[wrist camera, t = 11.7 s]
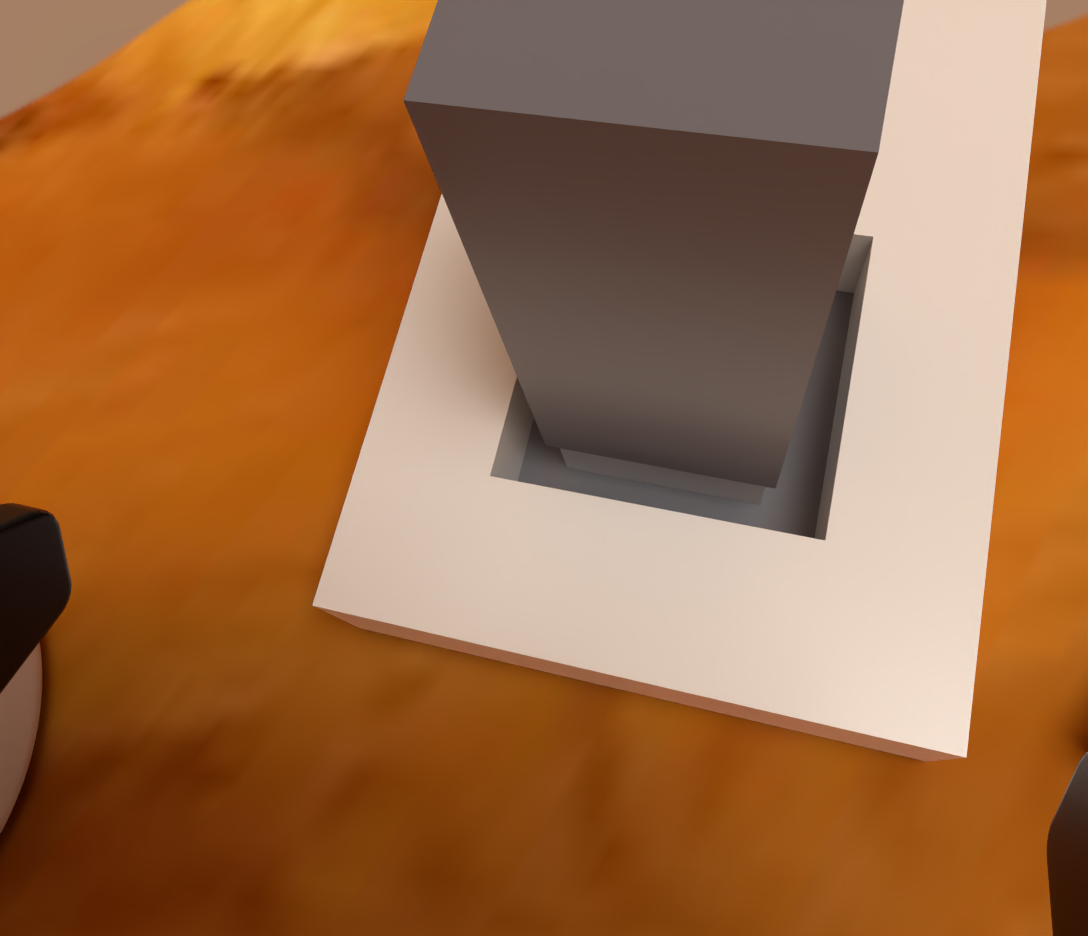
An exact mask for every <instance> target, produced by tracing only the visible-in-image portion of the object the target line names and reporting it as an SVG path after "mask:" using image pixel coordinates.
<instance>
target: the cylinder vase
mask: <svg viewBox="0 0 1088 936" xmlns="http://www.w3.org/2000/svg"><path fill="white" fill-rule="evenodd" d="M41 698H42V658H41V648H40V642H39V644H38V645H37V646H36V648H35V649H34V650H33V652H32V653H31V654H30V655H29V657H28V658H27V659H26V661H25V662H24V663H23V665H22V666H21V667H20V669H19V670H18V671H17V673H16V674H15V675H14V677H13V678H12V679H11V681H10V682H9V683H8V685H7V686H6V687H5V689H4V690H3V691H2V693H1V694H0V833H1V832H2V830H3V828H4V826H5V824H6V822H7V820H8V818H9V816H10V814H11V811H12V809H13V807H14V805H15V802H16V800H17V797H18V795H19V792H20V790H21V787H22V784H23V782H24V779H25V776H26V773H27V770H28V767H29V763H30V760H31V756H32V752H33V748H34V744H35V740H36V735H37V730H38V724H39V717H40V709H41Z"/></svg>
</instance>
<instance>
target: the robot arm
mask: <svg viewBox="0 0 1088 936" xmlns="http://www.w3.org/2000/svg"><path fill="white" fill-rule="evenodd" d="M70 594H71V578H70V573H69V568H68V563H67V559H66V554H65V549H64V544H63V540H62V535H61V530H60V526H59V523H58V521H57V520H56V518H55V517H54V516H53V514H51V513H49V512H48V511H46V510H42V509H38V508H34V507H29V506H25V505H20V504H15V503H7V504H1V505H0V694H1V693H2V691H3V690H4V689H5V687H6V686H7V685H8V683H9V682H10V681H11V679H12V678H13V677H14V675H15V674H16V673H17V671H18V670H19V669H20V667H21V666H22V665H23V663H24V662H25V661H26V659H27V658H28V657H29V655H30V654H31V653H32V652H33V650H34V649H35V648H36V646H37V645H38V644H39V642H40V641H41V640H42V638H43V637H44V636H45V634H46V633H47V632H48V630H49V629H50V628H51V626H52V625H53V624H54V622H55V621H56V620H57V618H58V617H59V616H60V614H61V613H62V612H63V610H64V609H65V607H66V605H67V603H68V600H69V597H70ZM1047 866H1048V878H1049V891H1050V904H1051V917H1052V930H1053V936H1088V752H1087V753H1086V754H1085V755H1084V756H1083V757H1082V758H1081V760H1080V762H1079V763H1078V766H1077V768H1076V770H1075V772H1074V774H1073V777H1072V779H1071V781H1070V783H1069V785H1068V787H1067V790H1066V792H1065V794H1064V796H1063V798H1062V801H1061V803H1060V805H1059V807H1058V809H1057V811H1056V814H1055V816H1054V818H1053V820H1052V823H1051V825H1050V829H1049V833H1048V840H1047Z"/></svg>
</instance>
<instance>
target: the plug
mask: <svg viewBox="0 0 1088 936" xmlns="http://www.w3.org/2000/svg"><path fill="white" fill-rule="evenodd" d="M903 3H904V0H438V2H437V5H436V8H435V11H434V13H433V16H432V19H431V22H430V25H429V28H428V31H427V34H426V37H425V40H424V42H423V45H422V48H421V51H420V54H419V57H418V60H417V63H416V66H415V69H414V71H413V74H412V77H411V80H410V83H409V86H408V89H407V92H406V95H405V98H404V103H405V105H406V107H407V110H408V112H409V115H410V117H411V120H412V122H413V124H414V127H415V129H416V132H417V134H418V137H419V139H420V142H421V144H422V146H423V149H424V151H425V154H426V156H427V159H428V161H429V163H430V166H431V168H432V171H433V173H434V176H435V178H436V180H437V183H438V185H439V188H440V190H441V193H442V195H443V197H444V200H445V202H446V205H447V207H448V210H449V212H450V215H451V217H452V219H453V222H454V224H455V227H456V229H457V232H458V234H459V236H460V239H461V241H462V244H463V246H464V249H465V251H466V253H467V256H468V258H469V261H470V263H471V266H472V268H473V270H474V273H475V275H476V278H477V280H478V283H479V285H480V288H481V290H482V292H483V295H484V297H485V300H486V302H487V305H488V307H489V309H490V312H491V314H492V317H493V319H494V322H495V324H496V326H497V329H498V331H499V334H500V336H501V339H502V341H503V343H504V346H505V348H506V351H507V353H508V356H509V358H510V360H511V363H512V365H513V368H514V370H515V373H516V375H517V378H518V380H519V382H520V385H521V387H522V390H523V392H524V395H525V397H526V399H527V402H528V404H529V407H530V409H531V412H532V414H533V416H534V419H535V421H536V424H537V426H538V429H539V431H540V433H541V436H542V438H543V441H544V443H545V446H550V447H556V448H560V450H561V453H562V455H563V458H564V461H565V463H566V466H567V468H570V469H575V470H581V471H586V472H591V473H596V474H602V475H607V476H612V477H617V478H622V479H628V480H633V481H638V482H643V483H649V484H654V485H659V486H664V487H669V488H675V489H680V490H685V491H690V492H696V493H701V494H706V495H711V496H716V497H722V498H727V499H732V500H737V501H743V502H748V503H753V504H758V505H760V504H761V501H762V497H763V493H764V489H765V487H769V488H775V489H776V486H777V483H778V479H779V476H780V473H781V470H782V466H783V463H784V460H785V456H786V453H787V450H788V447H789V443H790V440H791V437H792V434H793V430H794V427H795V424H796V421H797V417H798V414H799V411H800V408H801V404H802V401H803V398H804V394H805V391H806V388H807V385H808V381H809V378H810V375H811V372H812V368H813V365H814V362H815V359H816V355H817V352H818V349H819V346H820V342H821V339H822V336H823V332H824V329H825V326H826V323H827V319H828V316H829V313H830V310H831V306H832V303H833V300H834V297H835V293H836V290H837V287H838V283H839V280H840V277H841V274H842V270H843V267H844V264H845V261H846V257H847V254H848V251H849V248H850V244H851V241H852V238H853V235H854V231H855V228H856V225H857V221H858V218H859V215H860V212H861V208H862V205H863V202H864V199H865V195H866V192H867V189H868V186H869V182H870V179H871V176H872V173H873V169H874V166H875V163H876V159H877V156H878V153H879V147H880V141H881V135H882V129H883V123H884V117H885V111H886V105H887V99H888V93H889V87H890V81H891V75H892V69H893V63H894V57H895V51H896V45H897V39H898V33H899V27H900V21H901V15H902V9H903Z"/></svg>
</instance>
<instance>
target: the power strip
mask: <svg viewBox="0 0 1088 936" xmlns="http://www.w3.org/2000/svg"><path fill="white" fill-rule="evenodd" d="M1045 9H1046V0H904V3H903V9H902V15H901V21H900V27H899V33H898V39H897V45H896V51H895V57H894V63H893V69H892V75H891V81H890V87H889V93H888V99H887V105H886V111H885V117H884V123H883V129H882V135H881V141H880V147H879V153H878V156H877V159H876V163H875V166H874V169H873V173H872V176H871V179H870V182H869V186H868V189H867V192H866V195H865V199H864V202H863V205H862V208H861V212H860V215H859V218H858V221H857V225H856V228H855V231H854V235H853V238H852V241H851V244H850V248H849V251H848V254H847V257H846V261H845V264H844V267H843V270H842V274H841V277H840V280H839V283H838V287H837V290H836V293H835V297H834V300H833V303H832V306H831V310H830V313H829V316H828V319H827V323H826V326H825V329H824V332H823V336H822V339H821V342H820V346H819V349H818V352H817V355H816V359H815V362H814V365H813V368H812V372H811V375H810V378H809V381H808V385H807V388H806V391H805V394H804V398H803V401H802V404H801V408H800V411H799V414H798V417H797V421H796V424H795V427H794V430H793V434H792V437H791V440H790V443H789V447H788V450H787V453H786V456H785V460H784V463H783V466H782V470H781V473H780V476H779V479H778V483H777V486H776V489H775V488H769V487H765V489H764V493H763V497H762V501H761V504H760V505H758V504H753V503H748V502H743V501H737V500H732V499H727V498H722V497H716V496H711V495H706V494H701V493H696V492H690V491H685V490H680V489H675V488H669V487H664V486H659V485H654V484H649V483H643V482H638V481H633V480H628V479H622V478H617V477H612V476H607V475H602V474H596V473H591V472H586V471H581V470H575V469H570V468H567V466H566V463H565V461H564V458H563V455H562V453H561V450H560V448H556V447H550V446H545V443H544V441H543V438H542V436H541V433H540V431H539V429H538V426H537V424H536V421H535V419H534V416H533V414H532V412H531V409H530V407H529V404H528V402H527V399H526V397H525V395H524V392H523V390H522V387H521V385H520V382H519V380H518V378H517V375H516V373H515V370H514V368H513V365H512V363H511V360H510V358H509V356H508V353H507V351H506V348H505V346H504V343H503V341H502V339H501V336H500V334H499V331H498V329H497V326H496V324H495V322H494V319H493V317H492V314H491V312H490V309H489V307H488V305H487V302H486V300H485V297H484V295H483V292H482V290H481V288H480V285H479V283H478V280H477V278H476V275H475V273H474V270H473V268H472V266H471V263H470V261H469V258H468V256H467V253H466V251H465V249H464V246H463V244H462V241H461V239H460V236H459V234H458V232H457V229H456V227H455V224H454V222H453V219H452V217H451V215H450V212H449V210H448V207H447V205H446V202H445V200H444V197H443V195H441V198H440V201H439V204H438V207H437V210H436V214H435V217H434V220H433V223H432V226H431V230H430V233H429V236H428V239H427V242H426V245H425V249H424V252H423V255H422V258H421V261H420V264H419V268H418V271H417V274H416V277H415V280H414V284H413V287H412V290H411V293H410V296H409V299H408V303H407V306H406V309H405V312H404V315H403V318H402V322H401V325H400V328H399V331H398V334H397V338H396V341H395V344H394V347H393V350H392V353H391V357H390V360H389V363H388V366H387V369H386V372H385V376H384V379H383V382H382V385H381V388H380V392H379V395H378V398H377V401H376V404H375V407H374V411H373V414H372V417H371V420H370V423H369V426H368V430H367V433H366V436H365V439H364V442H363V445H362V449H361V452H360V455H359V458H358V461H357V465H356V468H355V471H354V474H353V477H352V480H351V484H350V487H349V490H348V493H347V496H346V499H345V503H344V506H343V509H342V512H341V515H340V519H339V522H338V525H337V528H336V531H335V534H334V538H333V541H332V544H331V547H330V550H329V553H328V557H327V560H326V563H325V566H324V569H323V573H322V576H321V579H320V582H319V585H318V588H317V592H316V595H315V598H314V601H313V604H312V606H314V607H316V608H318V609H320V610H322V611H325V612H327V613H329V614H331V615H333V616H335V617H337V618H339V619H341V620H343V621H345V622H347V623H350V624H352V625H354V626H356V627H358V628H361V629H365V630H369V631H374V632H378V633H382V634H386V635H391V636H395V637H399V638H403V639H407V640H412V641H416V642H420V643H424V644H429V645H433V646H437V647H441V648H446V649H450V650H454V651H458V652H463V653H467V654H471V655H475V656H480V657H484V658H488V659H492V660H497V661H501V662H505V663H509V664H514V665H518V666H522V667H526V668H531V669H535V670H539V671H543V672H548V673H552V674H556V675H560V676H565V677H569V678H573V679H577V680H582V681H586V682H590V683H594V684H599V685H603V686H607V687H611V688H616V689H620V690H624V691H628V692H633V693H637V694H641V695H645V696H650V697H654V698H658V699H662V700H667V701H671V702H675V703H679V704H684V705H688V706H692V707H696V708H701V709H705V710H709V711H713V712H718V713H722V714H726V715H730V716H735V717H739V718H743V719H747V720H752V721H756V722H760V723H764V724H769V725H773V726H777V727H781V728H786V729H790V730H794V731H798V732H803V733H807V734H811V735H815V736H820V737H824V738H828V739H832V740H837V741H841V742H845V743H849V744H854V745H858V746H862V747H866V748H871V749H875V750H879V751H883V752H888V753H892V754H896V755H900V756H905V757H909V758H913V759H917V760H922V761H937V760H947V759H957V758H966V756H967V746H968V737H969V727H970V718H971V708H972V699H973V690H974V680H975V671H976V661H977V652H978V642H979V633H980V623H981V614H982V604H983V595H984V586H985V576H986V567H987V557H988V548H989V538H990V529H991V519H992V510H993V500H994V491H995V482H996V472H997V463H998V453H999V444H1000V434H1001V425H1002V415H1003V406H1004V396H1005V387H1006V378H1007V368H1008V359H1009V349H1010V340H1011V330H1012V321H1013V311H1014V302H1015V292H1016V283H1017V274H1018V264H1019V255H1020V245H1021V236H1022V226H1023V217H1024V207H1025V198H1026V188H1027V179H1028V170H1029V160H1030V151H1031V141H1032V132H1033V122H1034V113H1035V103H1036V94H1037V84H1038V75H1039V66H1040V56H1041V47H1042V37H1043V28H1044V18H1045Z"/></svg>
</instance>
